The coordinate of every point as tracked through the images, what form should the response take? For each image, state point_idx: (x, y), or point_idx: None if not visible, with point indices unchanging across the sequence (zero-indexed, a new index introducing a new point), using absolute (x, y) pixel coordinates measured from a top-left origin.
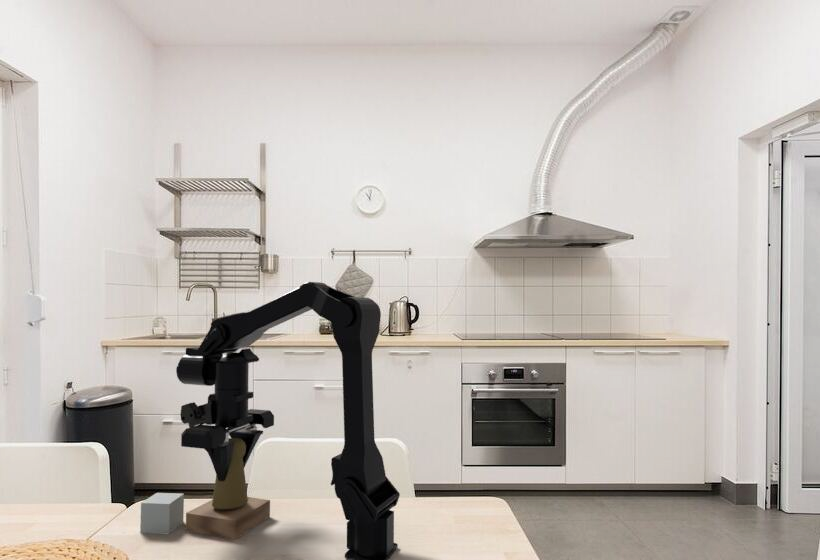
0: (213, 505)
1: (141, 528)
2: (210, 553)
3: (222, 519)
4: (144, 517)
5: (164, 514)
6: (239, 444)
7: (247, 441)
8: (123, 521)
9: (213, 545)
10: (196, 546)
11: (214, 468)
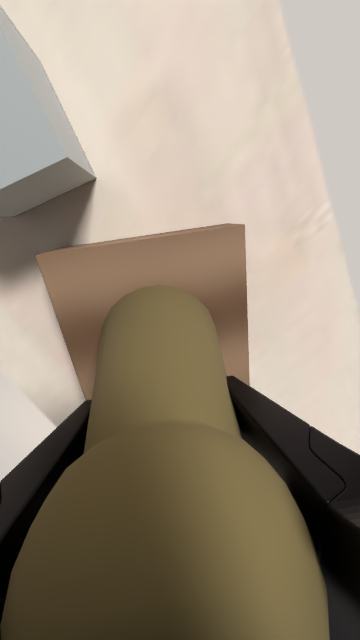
0: (102, 326)
1: None
2: (24, 394)
3: (81, 384)
4: None
5: None
6: None
7: (337, 637)
8: None
9: (52, 372)
10: (23, 346)
11: (36, 449)
